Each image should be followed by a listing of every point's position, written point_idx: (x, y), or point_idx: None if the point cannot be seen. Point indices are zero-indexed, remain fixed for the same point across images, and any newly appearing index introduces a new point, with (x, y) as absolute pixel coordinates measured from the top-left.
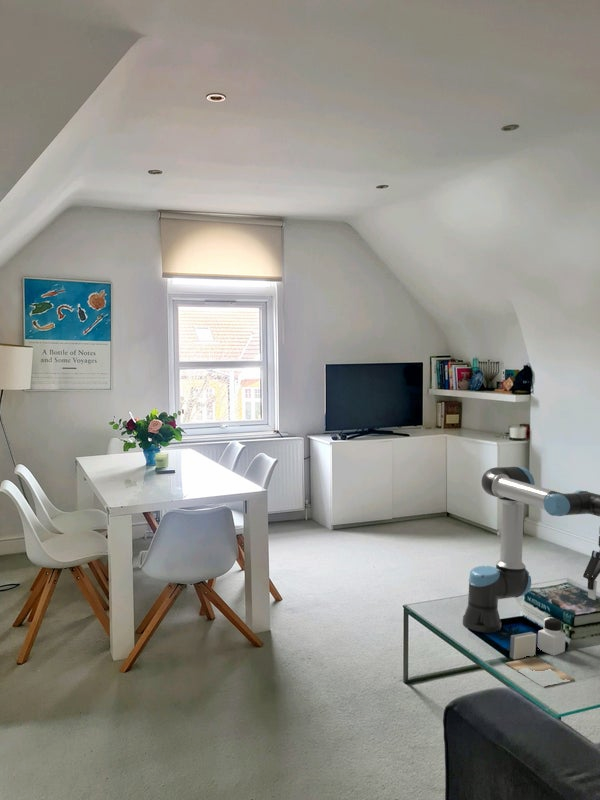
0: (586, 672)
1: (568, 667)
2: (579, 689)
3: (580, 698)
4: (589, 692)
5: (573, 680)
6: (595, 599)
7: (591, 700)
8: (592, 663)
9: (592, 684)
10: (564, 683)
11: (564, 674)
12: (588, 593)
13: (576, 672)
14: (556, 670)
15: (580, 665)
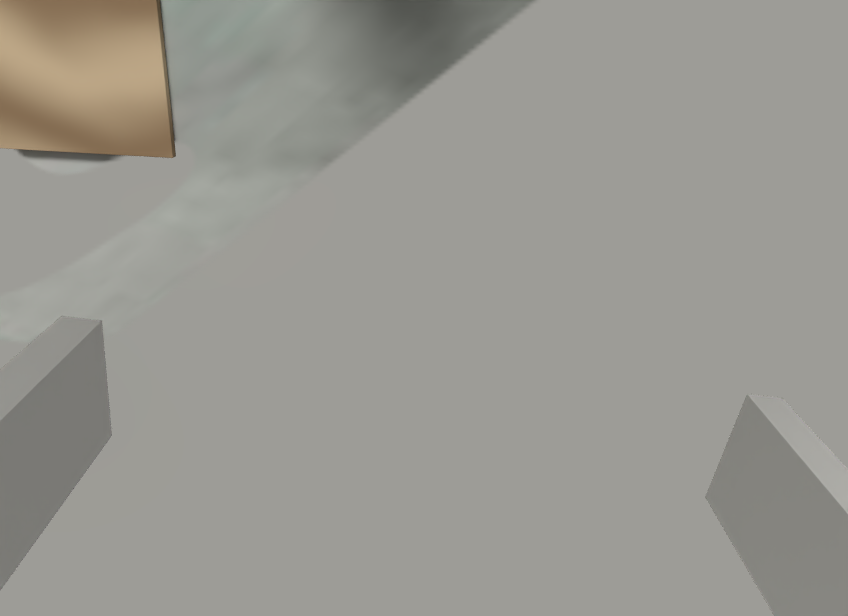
0: (331, 111)
1: (275, 8)
2: (128, 235)
3: (65, 298)
4: (158, 277)
5: (165, 156)
6: (107, 437)
7: (107, 330)
8: (480, 35)
9: (243, 226)
10: (91, 154)
11: (154, 88)
12: (20, 360)
13: (270, 84)
14: (141, 23)
15: (377, 22)
